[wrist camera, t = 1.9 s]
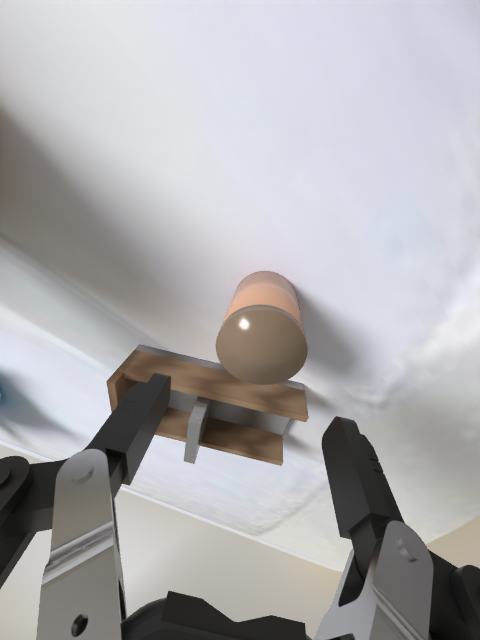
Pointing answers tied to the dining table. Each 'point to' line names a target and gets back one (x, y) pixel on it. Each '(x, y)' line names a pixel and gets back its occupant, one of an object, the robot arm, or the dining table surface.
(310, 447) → the dining table surface
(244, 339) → the jar
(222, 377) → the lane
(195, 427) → the plate
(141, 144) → the dining table surface
